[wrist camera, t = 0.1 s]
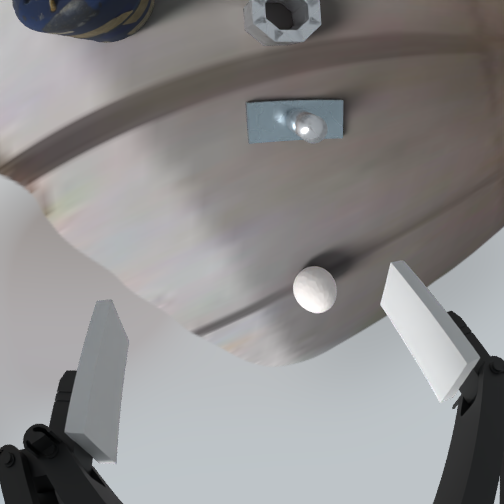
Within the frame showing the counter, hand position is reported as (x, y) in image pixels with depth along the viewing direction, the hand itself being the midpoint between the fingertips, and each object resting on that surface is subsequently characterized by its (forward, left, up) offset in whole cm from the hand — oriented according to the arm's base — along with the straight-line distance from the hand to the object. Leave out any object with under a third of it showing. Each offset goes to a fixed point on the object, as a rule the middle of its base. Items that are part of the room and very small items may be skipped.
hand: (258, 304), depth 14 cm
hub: (-16, +8, -28) cm, 33 cm away
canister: (-20, -10, -28) cm, 36 cm away
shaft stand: (-3, +10, -28) cm, 30 cm away
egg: (+21, +12, -28) cm, 37 cm away
